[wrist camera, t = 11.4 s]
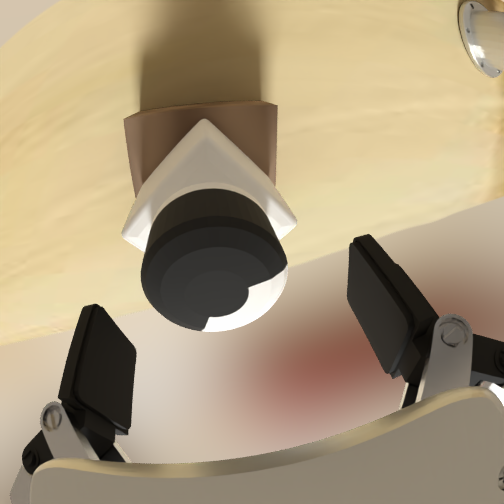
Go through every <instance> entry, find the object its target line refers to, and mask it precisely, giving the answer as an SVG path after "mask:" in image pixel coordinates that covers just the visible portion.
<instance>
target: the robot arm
mask: <svg viewBox="0 0 504 504" xmlns="http://www.w3.org/2000/svg"><path fill="white" fill-rule="evenodd" d="M459 26H460V31H461V35H462V39H463V42H464V45H465V48H466V50H467V52H468V54H469V56H470V58H471V60H472V62H473V63H474V65H475V66H476V67H477V69H478V70H479V71H480V72H481V73H483V74H484V75H486V76H489V77H493V78H494V77H498V76H499V75H500V74H501V73H502V71H504V12H497V11H488V10H487V9H486V8H485V7H484V6H483V5H481V4H480V3H478V2H476V1H465V2H464V3H463V4H462V5H461V7H460V10H459ZM347 299H348V302H349V304H350V306H351V308H352V310H353V312H354V314H355V315H356V317H357V319H358V321H359V323H360V325H361V327H362V329H363V330H364V332H365V334H366V336H367V338H368V340H369V342H370V344H371V346H372V348H373V350H374V351H375V353H376V356H377V357H378V360H379V362H380V363H381V366H382V368H383V370H384V371H385V373H387V374H388V373H390V375H391V377H392V379H394V378H396V377H398V376H400V375H402V376H403V378H404V380H405V382H406V385H405V390H404V393H403V396H402V400H401V403H400V406H399V409H398V411H396V412H394V413H392V414H390V415H388V416H385V417H383V418H380V419H378V420H375V421H373V422H371V423H368V424H365V425H363V426H360V427H357V428H355V429H352V430H349V431H347V432H344V433H341V434H338V435H335V436H332V437H329V438H325V439H322V440H319V441H316V442H312V443H308V444H305V445H301V446H298V447H293V448H289V449H285V450H280V451H276V452H271V453H266V454H261V455H256V456H249V457H243V458H236V459H229V460H221V461H211V462H198V463H179V464H140V463H132V462H131V460H130V459H129V458H128V456H127V455H126V454H125V452H124V451H123V450H122V448H121V447H120V445H119V444H118V443H117V441H116V440H115V434H117V435H128V429H129V428H130V427H131V415H132V399H133V398H132V397H133V385H134V374H135V364H136V349H135V347H134V345H133V344H132V343H131V342H130V341H129V340H128V338H127V337H126V336H125V335H124V334H123V332H122V331H121V330H120V329H119V327H118V326H117V325H116V324H115V322H114V321H113V320H112V318H111V317H110V316H109V315H108V313H107V312H106V311H105V309H104V308H103V307H100V306H99V305H98V304H92V305H88V306H84V307H83V309H82V311H81V314H80V317H79V320H78V323H77V326H76V329H75V332H74V336H73V339H72V342H71V346H70V349H69V353H68V357H67V360H66V364H65V369H64V373H63V377H62V381H61V385H60V390H59V395H58V398H59V399H60V400H61V401H62V403H61V404H60V403H58V402H55V401H54V402H50V403H49V404H47V405H46V406H45V407H44V409H43V411H42V413H41V417H40V424H41V428H42V430H41V431H40V432H39V433H38V434H37V435H36V436H35V437H34V438H33V439H32V440H31V442H30V443H29V444H28V445H27V446H26V447H25V449H24V451H23V454H22V461H23V465H24V467H23V466H21V469H20V471H19V473H18V475H17V478H16V480H15V482H14V484H13V487H12V489H11V493H10V499H11V502H12V504H504V342H501V341H498V340H494V339H491V338H487V337H484V336H480V335H476V334H473V333H472V329H471V327H470V325H469V323H468V322H467V321H466V320H465V319H464V318H463V317H461V316H459V315H456V314H447V315H443V316H442V317H440V318H439V316H438V315H437V314H436V312H435V311H434V309H433V308H432V307H431V305H430V304H429V303H428V301H427V300H426V298H425V297H424V296H423V294H422V293H421V292H420V291H419V289H418V288H417V287H416V285H415V284H414V283H413V282H412V280H411V279H410V278H409V277H408V275H407V274H406V273H405V272H404V270H403V269H402V268H401V267H400V266H399V265H398V264H396V263H394V262H393V260H392V259H391V258H390V257H389V256H388V254H387V253H386V252H385V251H384V250H383V248H382V247H381V246H380V245H379V244H378V243H377V242H376V240H375V239H374V238H373V237H372V236H371V235H370V234H367V235H363V236H359V237H356V238H354V240H353V243H350V246H349V269H348V288H347Z"/></svg>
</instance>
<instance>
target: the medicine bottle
mask: <svg viewBox="0 0 504 504" xmlns="http://www.w3.org/2000/svg"><path fill="white" fill-rule="evenodd" d="M296 225H297V219H296V217H295V216H294V214H293V213H292V211H291V209H290V208H289V206H288V205H287V203H286V202H285V200H284V199H283V197H282V196H281V194H280V193H279V191H278V190H277V188H276V187H275V186H274V184H273V183H272V181H271V180H270V178H269V177H268V176H267V175H266V174H265V173H264V172H263V171H262V170H261V169H260V168H259V167H258V166H257V165H256V164H255V163H254V162H253V161H252V160H251V159H250V158H249V157H247V156H246V155H245V154H244V153H243V152H242V151H241V150H240V149H239V148H238V147H237V146H236V145H235V144H234V143H233V142H232V141H231V140H229V139H228V138H227V137H226V136H225V135H224V134H223V133H222V132H221V131H220V130H219V129H217V128H216V127H215V126H214V125H213V124H212V123H211V122H210V121H209V120H207V119H202V120H200V121H199V122H198V123H197V124H196V125H195V126H194V127H193V128H192V129H191V130H190V131H189V132H188V133H187V134H186V136H185V137H184V138H183V139H182V140H181V141H180V142H179V143H178V144H177V145H176V146H175V147H174V149H173V150H172V151H171V152H170V153H169V154H168V155H167V156H166V158H165V159H164V160H163V161H162V162H161V163H160V164H159V166H158V167H157V168H156V169H155V170H154V172H153V173H152V174H151V175H150V176H149V178H148V179H147V180H146V181H145V182H144V184H143V185H142V187H141V189H140V191H139V193H138V195H137V197H136V200H135V202H134V204H133V206H132V209H131V211H130V213H129V215H128V218H127V220H126V222H125V225H124V227H123V230H122V237H123V238H124V239H125V240H127V241H128V242H129V243H131V244H132V245H134V246H135V247H137V248H138V249H140V250H141V251H143V252H144V253H145V254H144V258H143V262H142V268H141V283H142V288H143V291H144V293H145V295H146V297H147V299H148V301H149V302H150V304H151V305H152V306H153V307H154V308H155V309H156V310H157V311H158V312H159V313H160V314H161V315H163V316H164V317H165V318H166V319H168V320H170V321H171V322H173V323H175V324H177V325H179V326H182V327H185V328H188V329H192V330H197V331H207V332H211V331H212V332H213V331H225V330H230V329H234V328H238V327H241V326H243V325H246V324H248V323H250V322H252V321H254V320H256V319H257V318H259V317H260V316H262V315H263V314H264V313H265V312H267V311H268V310H269V309H270V308H271V307H272V305H273V304H274V303H275V302H276V300H277V299H278V297H279V296H280V294H281V293H282V291H283V289H284V287H285V283H286V280H287V275H288V263H287V259H286V255H285V253H284V251H283V248H282V246H281V244H280V242H279V240H280V239H281V238H283V237H284V236H285V235H286V234H287V233H288V232H290V231H291V230H292V229H293V228H294V227H295V226H296Z"/></svg>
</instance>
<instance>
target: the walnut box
mask: <svg viewBox="0 0 504 504" xmlns="http://www.w3.org/2000/svg"><path fill="white" fill-rule="evenodd" d="M277 106H278V105H274V104H271V103H267V102H264V101H229V102H212V103H199V104H189V105H180V106H172V107H164V108H157V109H151V110H145V111H140V112H137V113H135V114H133V115H131V116H129V117H127V118H125V119H124V127H125V135H126V143H127V150H128V157H129V163H130V169H131V175H132V181H133V186H134V191H135V197H137V195H138V193H139V191H140V189H141V187H142V185H143V184H144V182H145V181H146V180H147V179H148V178H149V176H150V175H151V174H152V173H153V172H154V170H155V169H156V168H157V167H158V166H159V164H160V163H161V162H162V161H163V160H164V159H165V158H166V156H167V155H168V154H169V153H170V152H171V151H172V150H173V149H174V147H175V146H176V145H177V144H178V143H179V142H180V141H181V140H182V139H183V138H184V137H185V136H186V134H187V133H188V132H189V131H190V130H191V129H192V128H193V127H194V126H195V125H196V124H197V123H198V122H199V121H200V120H202V119H207V120H209V121H210V122H211V123H212V124H213V125H214V126H215V127H216V128H217V129H219V130H220V131H221V132H222V133H223V134H224V135H225V136H226V137H227V138H228V139H229V140H231V141H232V142H233V143H234V144H235V145H236V146H237V147H238V148H239V149H240V150H241V151H242V152H243V153H244V154H245V155H246V156H247V157H249V158H250V159H251V160H252V161H253V162H254V163H255V164H256V165H257V166H258V167H259V168H260V169H261V170H262V171H263V172H264V173H265V174H266V175H267V176H268V177H269V178H270V180H271V181H272V183H273V184H274V186H275V184H276V151H277Z"/></svg>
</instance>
